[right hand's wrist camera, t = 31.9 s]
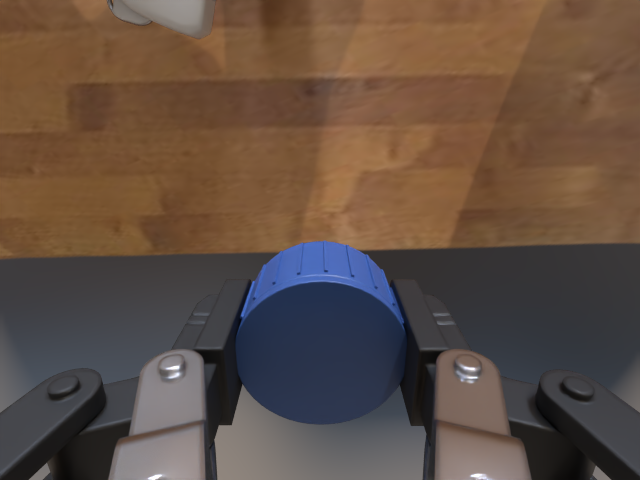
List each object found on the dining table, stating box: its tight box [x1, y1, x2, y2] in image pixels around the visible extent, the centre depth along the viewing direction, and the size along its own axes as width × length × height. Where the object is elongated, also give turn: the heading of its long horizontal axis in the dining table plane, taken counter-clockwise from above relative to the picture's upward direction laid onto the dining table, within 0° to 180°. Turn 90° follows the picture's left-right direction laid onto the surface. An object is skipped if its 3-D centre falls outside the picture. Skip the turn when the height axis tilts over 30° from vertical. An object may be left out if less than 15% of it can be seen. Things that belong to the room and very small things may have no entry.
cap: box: [235, 241, 407, 424], centre depth 11 cm, size 5×5×3 cm
